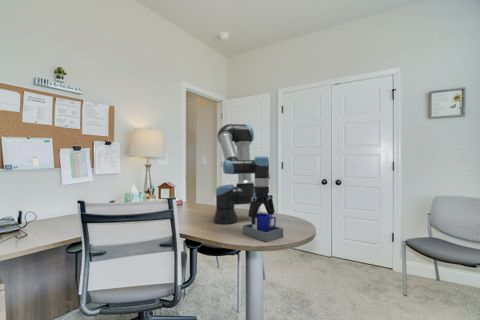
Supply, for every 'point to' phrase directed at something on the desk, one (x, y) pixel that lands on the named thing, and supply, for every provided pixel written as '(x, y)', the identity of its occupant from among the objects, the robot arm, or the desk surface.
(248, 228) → the tray
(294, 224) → the desk surface
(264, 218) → the mug
